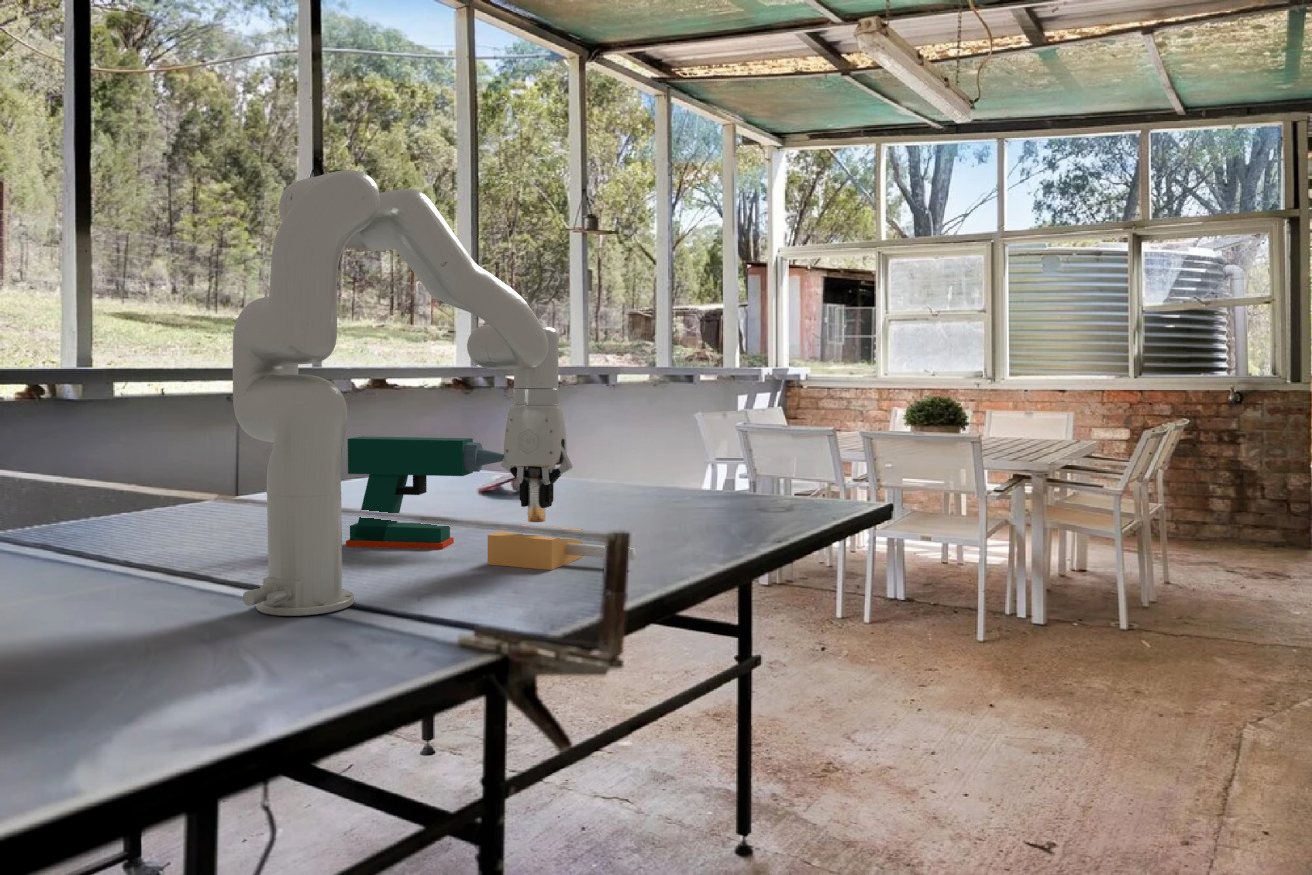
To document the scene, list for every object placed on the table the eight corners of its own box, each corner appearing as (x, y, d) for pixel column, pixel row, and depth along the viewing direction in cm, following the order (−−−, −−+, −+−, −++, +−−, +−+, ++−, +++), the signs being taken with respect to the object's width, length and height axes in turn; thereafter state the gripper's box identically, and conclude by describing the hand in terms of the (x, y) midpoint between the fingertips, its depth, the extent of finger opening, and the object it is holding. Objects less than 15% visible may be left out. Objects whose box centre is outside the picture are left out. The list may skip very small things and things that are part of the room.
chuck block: (619, 576, 153) (619, 545, 153) (487, 564, 162) (487, 534, 161) (646, 562, 164) (646, 533, 164) (521, 552, 173) (521, 524, 172)
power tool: (524, 544, 181) (524, 438, 180) (515, 551, 174) (515, 441, 173) (361, 540, 184) (360, 436, 183) (345, 546, 177) (344, 438, 176)
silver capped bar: (540, 522, 163) (540, 464, 162) (524, 521, 164) (524, 463, 163) (548, 520, 166) (548, 462, 165) (533, 519, 167) (532, 461, 166)
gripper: (482, 399, 163) (483, 506, 164) (570, 400, 157) (570, 512, 158) (504, 398, 170) (505, 501, 171) (589, 399, 164) (589, 506, 165)
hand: (536, 505), depth 165 cm, fingers closed on silver capped bar, 3 cm apart
